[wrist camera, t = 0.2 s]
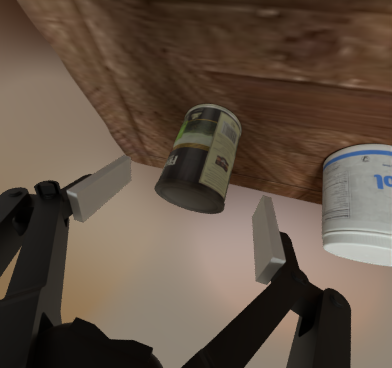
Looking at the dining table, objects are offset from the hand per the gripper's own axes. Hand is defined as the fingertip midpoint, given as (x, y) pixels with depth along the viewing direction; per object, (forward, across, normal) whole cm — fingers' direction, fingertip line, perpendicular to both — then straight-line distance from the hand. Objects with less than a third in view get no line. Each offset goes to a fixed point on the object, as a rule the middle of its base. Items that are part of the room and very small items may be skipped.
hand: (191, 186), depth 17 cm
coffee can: (+17, -1, +2) cm, 18 cm away
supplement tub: (+17, +23, +2) cm, 29 cm away
